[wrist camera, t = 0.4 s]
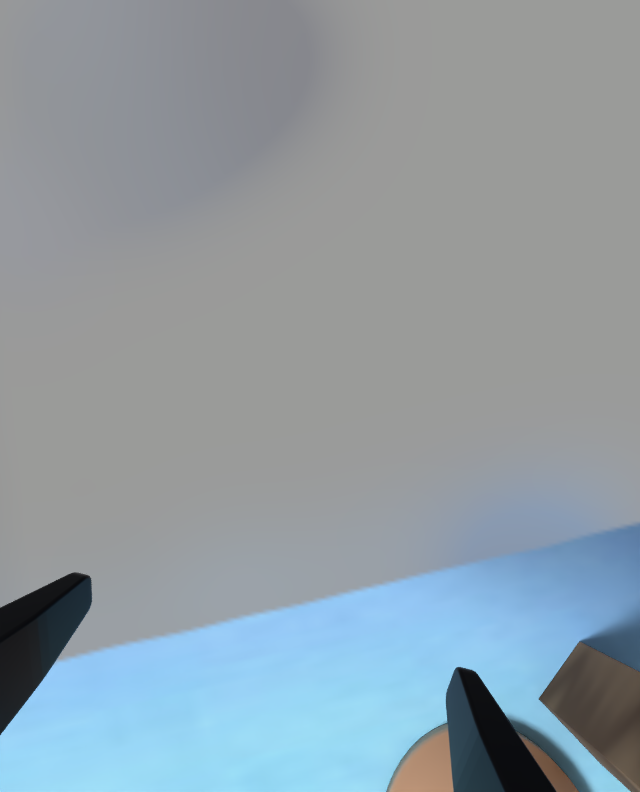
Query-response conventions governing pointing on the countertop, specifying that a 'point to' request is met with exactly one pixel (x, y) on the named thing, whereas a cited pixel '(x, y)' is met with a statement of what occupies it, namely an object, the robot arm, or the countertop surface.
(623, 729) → the walnut block
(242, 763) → the countertop surface
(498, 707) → the robot arm
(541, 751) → the tan flat disc
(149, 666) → the countertop surface
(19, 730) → the countertop surface
